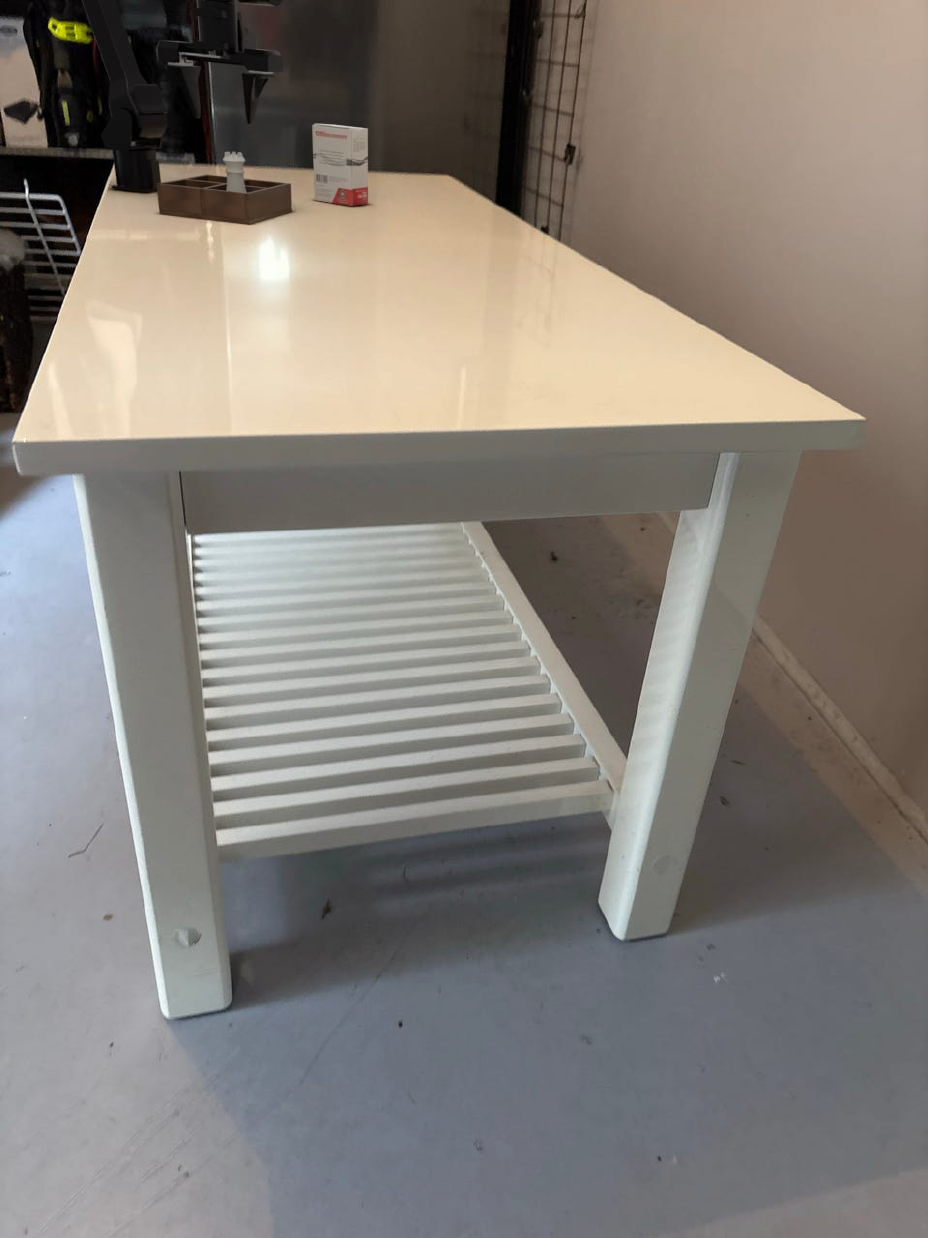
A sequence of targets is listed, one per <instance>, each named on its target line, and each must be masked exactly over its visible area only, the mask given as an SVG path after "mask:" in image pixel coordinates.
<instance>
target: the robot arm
mask: <svg viewBox="0 0 928 1238" xmlns="http://www.w3.org/2000/svg"><path fill="white" fill-rule="evenodd" d="M237 1H238V2H239V3H241V4H244V5H255V6H266V7H278V6H281V4H282V2H283V1H284V0H196V7H192V16H193V17H197V22H198V23H197V24H198V35H199V37H198V39H199V40H194V42H190V41H189V42H188V41H177V40H160V39H159V42H158V44H157V46H156V49H155V50H156V61H157V62H161V63H162V62H163V63H167V64H165V65H164V66H165V69H166V70H170V72H171V73H172V75H173V77H174V79H175V81H176V82H177V84H178V85H179V87H180V89H181V92H182V94H183V95H184V97H185V100H186V102H187V105H188V106H189V108H190V111H191V113H192V114H193V117H194V118H195V119H200V118H201V97H200V87H199V76H200V73H201V68H202V67H201V66H197V65H196V66H195V65H194V64H196V62H204V63H212V64H213V63H214V64H223V65H224V64H225V65H233V66H243V67H245V69H246V70H247V71H248V72H241V81H242V82H241V83H242V90H243V91H242V92H243V102H244V112H245V117H246V123H247V125H253V124H254V121H255V117H256V113H257V110H258V106H259V102H260V99H261V96H262V94H263V91H264V88H265V87H266V84H267V83H268V82H269V81H270V79H275V78H276V76H277V75H276V74H275V73H284V58H283V56H282V54H281V53H280V51H279V50H273V49H272V50H271V49H262V48H257V47H258V37H257V36H256V35H255V34H254V33H252V31H251V30H250V29H248V28H247V27H244V23H243V15H242V12H241V11H238V9H237ZM81 3H82V5H83V7H84V10H85V13H86V17H87V20H88V22H89V24H90V25H89V26H90V27H91V30H92V34H93V36H94V40H95V41H96V45H97V47H98V51H99V53H100V56H101V59H102V62H103V64H104V67H105V70H106V74H107V76H108V79H109V83H110V84H109V93H108V106H109V111H110V115H111V118H110V120H109V121H108V123H107V124H106V126H105V127H104V129H103V131H102V132H101V134H100V138H101V141H102V143H103V146H104V148H105V149H106V150H112V151H111V152H112V156H113V157H112V159H113V165H114V174H115V181H116V184H112V185H111V189H112V190H122V191H132V192H140V193H148V192H154V191H157V186H156V184H158V183H162V179H161V168H160V161H159V159H157V151H156V149H157V150H158V149H160V150H161V149H162V146H163V140H164V134H165V132H166V129H167V126H168V118H167V114H166V113H169V110H168V108H167V107H166V105H165V103H164V101H163V97H162V92H161V89H160V87H159V85H158V84H149V83H148V82H147V81H146V80H145V78H144V77H143V76H142V73H141V72H140V68H139V65H138V63H137V59H136V57H135V55H134V51H133V48H132V46H131V45H132V44H131V42H130V39H129V36H128V33H127V30H126V27H125V24H124V22H123V21H124V20H123V19H122V15H121V14H120V13H121V12H120V9H119V6H118V4H117V1H116V0H81ZM214 51H215V54H210V52H214Z"/></svg>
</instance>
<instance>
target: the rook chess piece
mask: <svg viewBox="0 0 928 1238" xmlns="http://www.w3.org/2000/svg"><path fill="white" fill-rule="evenodd" d="M222 161H223V163H224V164H225V166H226V167H225V168H226V169H225V170H224V171H225V174H226V177H227V189H226V191H232V192H241V193H247V192H246V189H245V184H244V179H245V178H244V173H245V170H244V167H243V166H244V164H245V162H246V159H245V158H244V156H243V152H240V151H238V152H237V153H236V151H225V152H224V156H223V158H222Z"/></svg>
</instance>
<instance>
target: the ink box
mask: <svg viewBox="0 0 928 1238" xmlns="http://www.w3.org/2000/svg"><path fill="white" fill-rule="evenodd" d="M311 129H312V131H311V132H312V154H313V155H312V160H313V189H314V194H313V195H314V201H315V202H316V201H317V202H323V203H329V204H335V205H341V206H347V207H353V206H361V205H362V206H363V205H368V204H369V128H367V127H365V128H364V127H358V126H349V125H339V124H329V123H313V124H312V125H311Z"/></svg>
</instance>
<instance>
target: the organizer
mask: <svg viewBox="0 0 928 1238" xmlns="http://www.w3.org/2000/svg"><path fill="white" fill-rule="evenodd" d="M244 184H245V189H246V192H247V193H241V192H232V191H226V189H227V176H224V175H213V174H201V175H196V176H190V177H185V178H179V179H174V180H169V181H164V182H161V183H158V184H156V186H157V190H156V195H157V204H158V213H159V215H166V216H167V215H169V216H176V217H183V218H194V219H200V220H201V219H202V220H208V221H218V222H219V221H220V222H226V223H227V222H228V223H236V224H244V225H252V224H255V223H258V222H261V221H265V220H269V219H272V218H275V217H279V216H282V215H285V214H288V213H291V212H293V208H292V207H293V203H292V202H293V201H292V183H290V182H280V181H270V180H261V179H252V178H244Z"/></svg>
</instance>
